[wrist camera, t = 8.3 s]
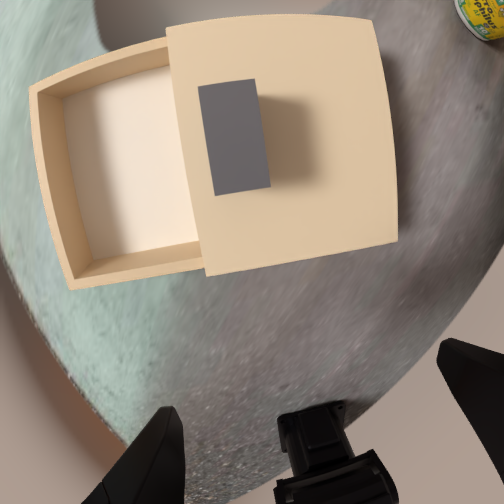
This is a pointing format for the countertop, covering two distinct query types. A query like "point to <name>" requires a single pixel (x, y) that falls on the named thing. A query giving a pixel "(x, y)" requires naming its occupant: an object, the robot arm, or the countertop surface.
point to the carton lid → (284, 137)
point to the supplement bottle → (482, 17)
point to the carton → (114, 168)
